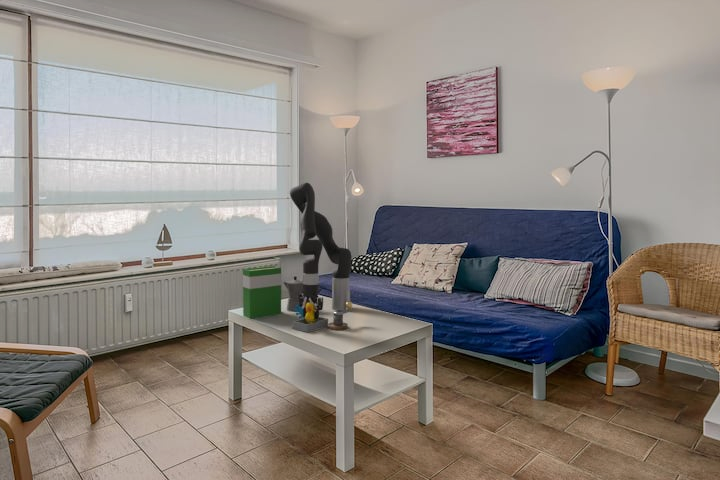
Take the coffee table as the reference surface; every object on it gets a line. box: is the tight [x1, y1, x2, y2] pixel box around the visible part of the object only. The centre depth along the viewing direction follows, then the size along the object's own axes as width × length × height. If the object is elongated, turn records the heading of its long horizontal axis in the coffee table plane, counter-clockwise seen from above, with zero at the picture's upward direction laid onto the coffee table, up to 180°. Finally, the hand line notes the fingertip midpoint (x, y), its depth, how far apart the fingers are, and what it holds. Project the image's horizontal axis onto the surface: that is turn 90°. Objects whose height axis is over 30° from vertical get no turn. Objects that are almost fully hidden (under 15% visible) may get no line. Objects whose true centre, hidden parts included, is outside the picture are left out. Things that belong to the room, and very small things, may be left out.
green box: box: [242, 265, 282, 320], centre depth 245 cm, size 18×7×24 cm, turn 130°
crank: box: [332, 301, 353, 316], centre depth 227 cm, size 12×4×4 cm, turn 142°
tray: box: [292, 316, 329, 333], centre depth 224 cm, size 14×9×4 cm, turn 142°
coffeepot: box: [282, 276, 303, 312], centre depth 257 cm, size 15×9×18 cm, turn 87°
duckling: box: [305, 302, 317, 323], centre depth 223 cm, size 11×5×10 cm, turn 173°
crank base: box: [327, 314, 349, 331], centre depth 224 cm, size 9×9×6 cm
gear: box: [294, 303, 305, 319], centre depth 242 cm, size 11×6×10 cm
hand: (310, 317), depth 224 cm, fingers closed on duckling, 6 cm apart
